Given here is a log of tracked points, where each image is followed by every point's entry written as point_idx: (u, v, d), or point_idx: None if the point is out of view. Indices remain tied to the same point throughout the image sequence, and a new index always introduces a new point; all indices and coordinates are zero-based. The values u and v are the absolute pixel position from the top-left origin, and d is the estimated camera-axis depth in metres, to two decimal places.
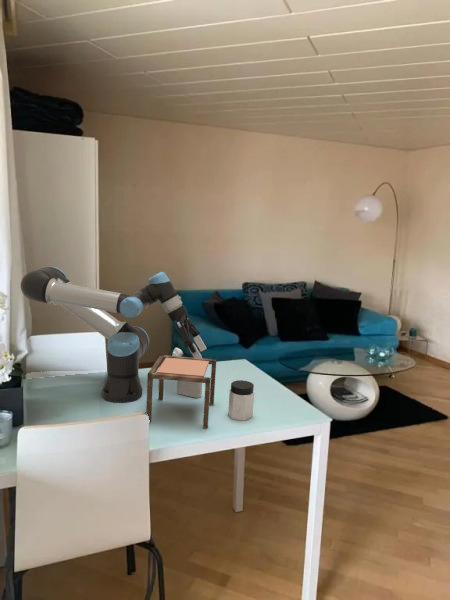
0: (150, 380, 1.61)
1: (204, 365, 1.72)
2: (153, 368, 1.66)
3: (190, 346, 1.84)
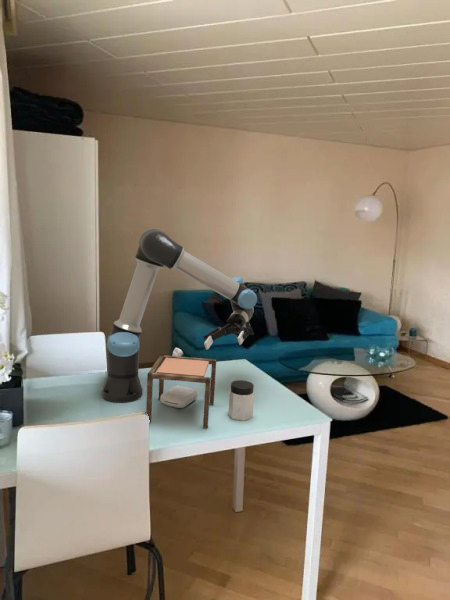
0: (150, 380, 1.61)
1: (204, 365, 1.72)
2: (153, 368, 1.66)
3: (247, 333, 1.79)
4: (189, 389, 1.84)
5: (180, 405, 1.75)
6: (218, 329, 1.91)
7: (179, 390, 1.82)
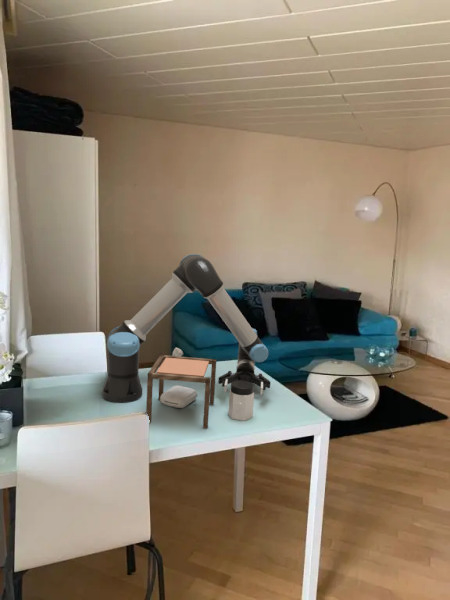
0: (150, 380, 1.61)
1: (204, 365, 1.72)
2: (153, 368, 1.66)
3: (265, 385, 1.85)
4: (189, 389, 1.84)
5: (180, 405, 1.75)
6: (230, 374, 1.94)
7: (179, 390, 1.82)
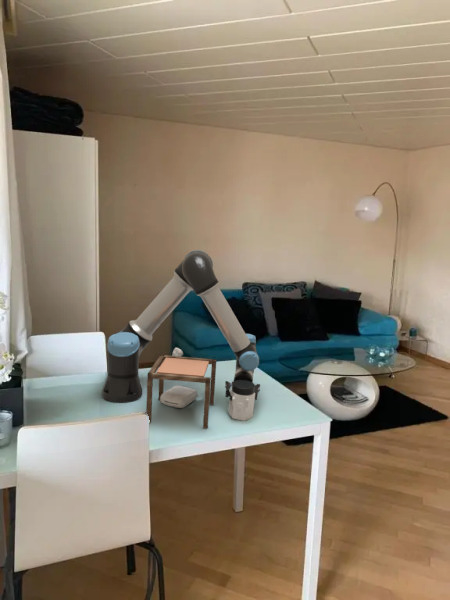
0: (150, 380, 1.61)
1: (204, 365, 1.72)
2: (153, 368, 1.66)
3: None
4: (189, 389, 1.84)
5: (180, 405, 1.75)
6: (229, 384, 1.82)
7: (179, 390, 1.82)
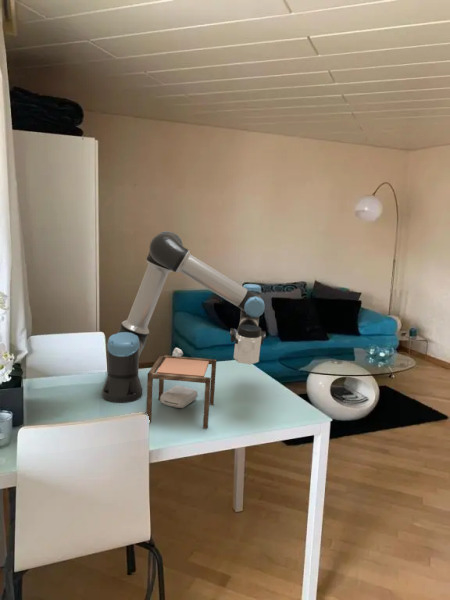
0: (150, 380, 1.61)
1: (204, 365, 1.72)
2: (153, 368, 1.66)
3: None
4: (189, 389, 1.84)
5: (180, 405, 1.75)
6: (234, 331, 1.78)
7: (179, 390, 1.82)
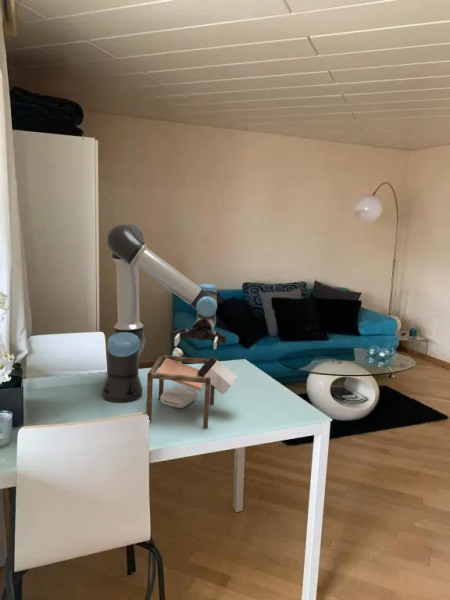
0: (150, 380, 1.61)
1: None
2: (153, 368, 1.66)
3: (220, 341, 1.70)
4: (189, 389, 1.84)
5: (180, 405, 1.75)
6: (185, 330, 1.79)
7: (179, 390, 1.82)
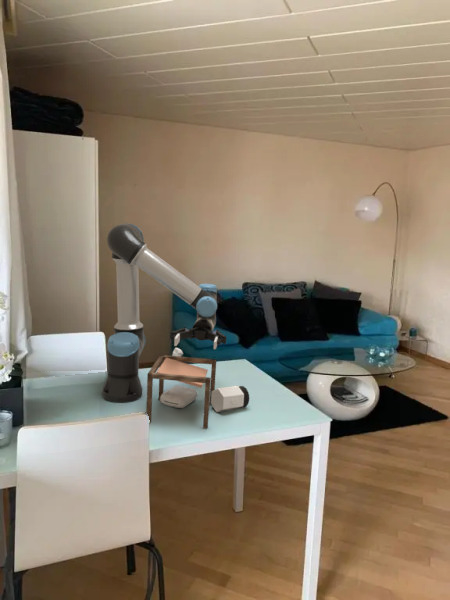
0: (150, 380, 1.61)
1: (203, 374, 1.72)
2: (153, 368, 1.66)
3: (221, 340, 1.70)
4: (189, 389, 1.84)
5: (180, 405, 1.75)
6: (185, 330, 1.79)
7: (179, 390, 1.82)
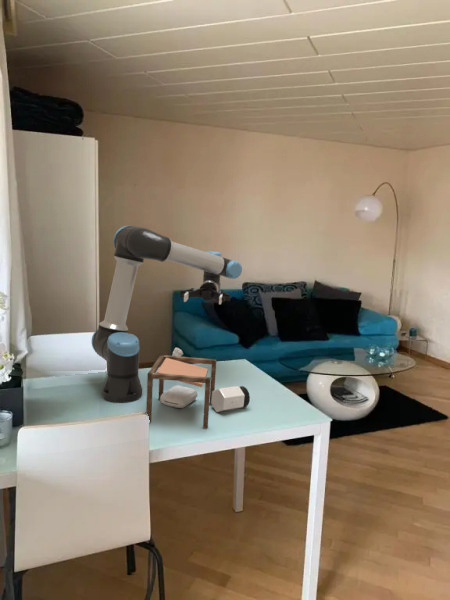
0: (150, 380, 1.61)
1: (203, 373, 1.72)
2: (153, 368, 1.66)
3: (225, 298, 1.91)
4: (189, 389, 1.84)
5: (180, 405, 1.75)
6: (192, 290, 1.99)
7: (179, 390, 1.82)
